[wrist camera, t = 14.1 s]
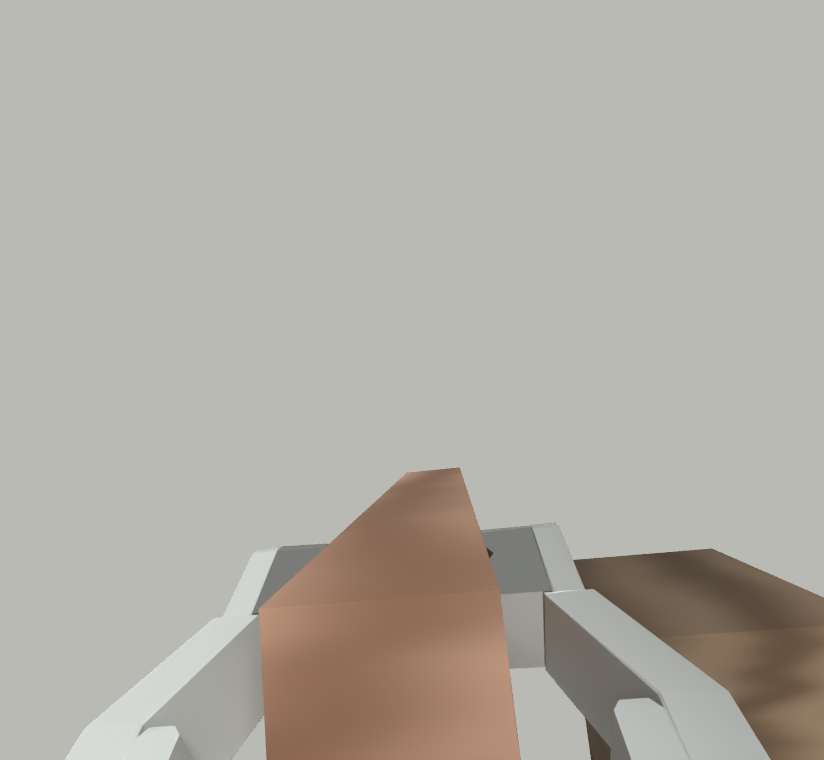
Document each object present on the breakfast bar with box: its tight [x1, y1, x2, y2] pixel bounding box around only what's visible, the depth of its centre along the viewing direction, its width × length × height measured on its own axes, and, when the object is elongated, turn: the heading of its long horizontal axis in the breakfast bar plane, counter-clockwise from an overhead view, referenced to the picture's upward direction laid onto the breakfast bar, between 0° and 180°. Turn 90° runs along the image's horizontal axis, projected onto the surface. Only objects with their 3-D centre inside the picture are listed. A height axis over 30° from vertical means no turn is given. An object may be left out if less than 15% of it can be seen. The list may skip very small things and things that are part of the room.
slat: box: [259, 468, 521, 760], centre depth 15 cm, size 3×20×2 cm, turn 175°
